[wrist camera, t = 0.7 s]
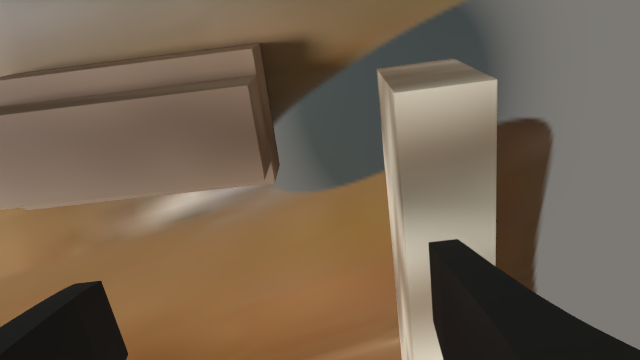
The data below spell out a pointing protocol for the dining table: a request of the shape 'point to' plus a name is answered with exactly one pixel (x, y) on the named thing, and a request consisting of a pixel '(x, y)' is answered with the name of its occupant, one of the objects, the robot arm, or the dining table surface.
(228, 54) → the walnut ridge
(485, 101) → the metal bar
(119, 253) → the dining table surface
